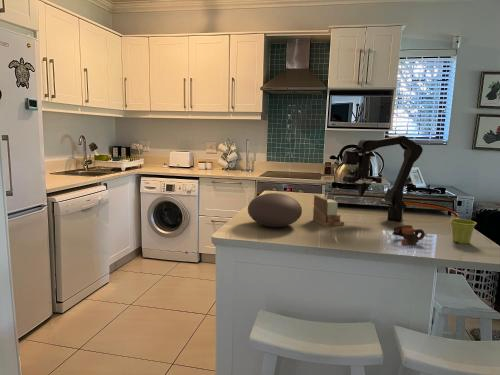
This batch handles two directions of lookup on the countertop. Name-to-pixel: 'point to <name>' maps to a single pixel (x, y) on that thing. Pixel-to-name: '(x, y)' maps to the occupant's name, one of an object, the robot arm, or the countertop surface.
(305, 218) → the countertop surface
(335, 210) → the cream upright block
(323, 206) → the walnut key housing
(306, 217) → the countertop surface
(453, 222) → the plant pot
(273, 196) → the flattened ellipsoid
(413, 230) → the pottery mug
